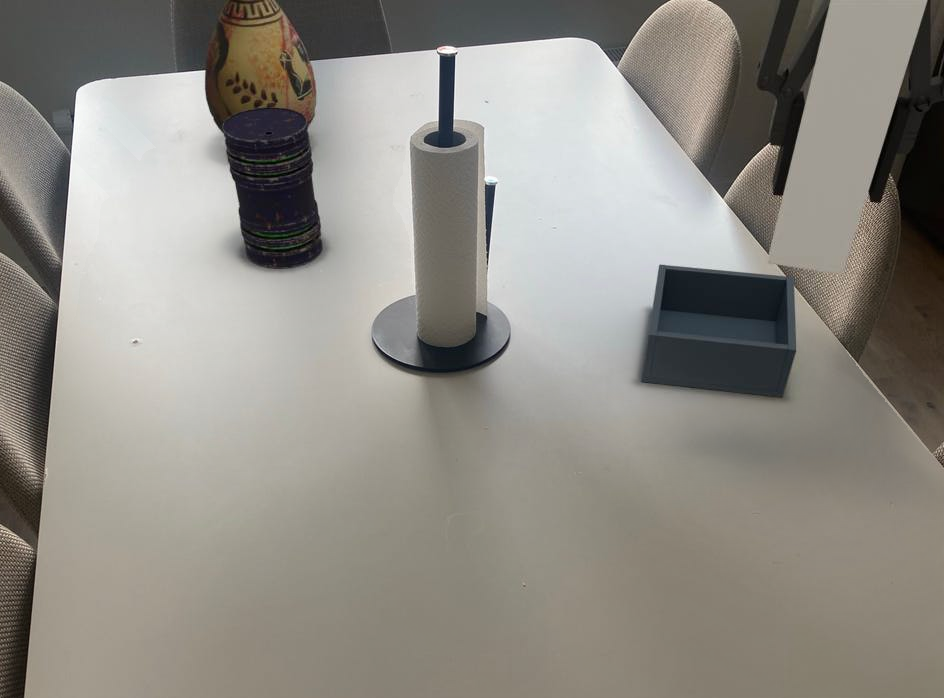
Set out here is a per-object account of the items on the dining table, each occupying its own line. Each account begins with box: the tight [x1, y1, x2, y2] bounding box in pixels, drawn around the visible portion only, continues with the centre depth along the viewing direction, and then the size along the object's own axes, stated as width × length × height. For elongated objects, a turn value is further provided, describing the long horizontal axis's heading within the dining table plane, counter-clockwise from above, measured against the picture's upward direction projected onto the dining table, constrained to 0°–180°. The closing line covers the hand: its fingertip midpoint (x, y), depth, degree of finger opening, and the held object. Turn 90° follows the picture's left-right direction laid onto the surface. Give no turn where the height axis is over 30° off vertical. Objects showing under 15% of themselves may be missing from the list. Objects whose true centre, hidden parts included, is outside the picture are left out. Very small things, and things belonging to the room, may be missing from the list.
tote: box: [641, 264, 797, 398], centre depth 101 cm, size 15×15×6 cm
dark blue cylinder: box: [222, 107, 324, 270], centre depth 114 cm, size 10×10×15 cm
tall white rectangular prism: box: [766, 0, 927, 276], centre depth 69 cm, size 6×6×22 cm
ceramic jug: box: [204, 0, 317, 135], centre depth 128 cm, size 17×15×30 cm
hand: (825, 190), depth 73 cm, fingers closed on tall white rectangular prism, 7 cm apart
